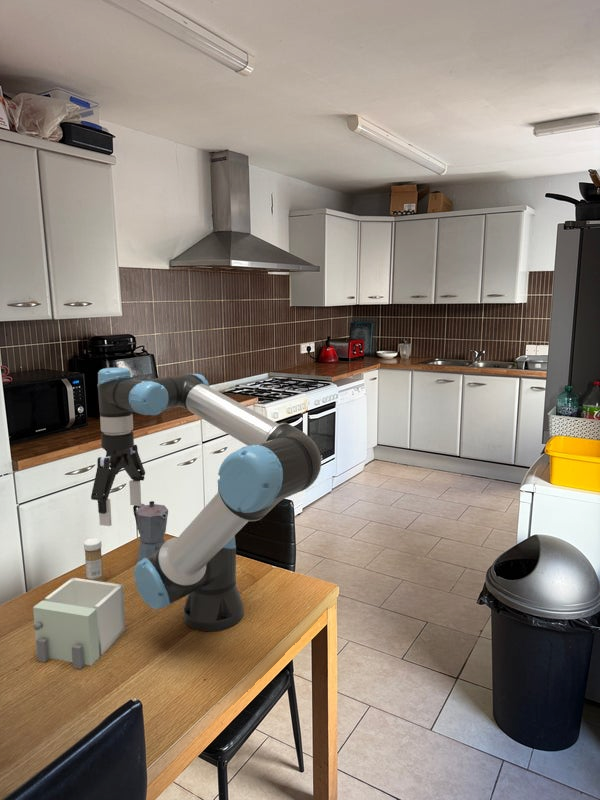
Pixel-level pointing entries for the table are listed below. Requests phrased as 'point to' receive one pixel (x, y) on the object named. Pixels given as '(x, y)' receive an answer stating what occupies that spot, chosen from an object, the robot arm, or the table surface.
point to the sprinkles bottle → (93, 559)
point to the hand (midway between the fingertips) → (121, 514)
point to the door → (67, 630)
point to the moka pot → (150, 528)
